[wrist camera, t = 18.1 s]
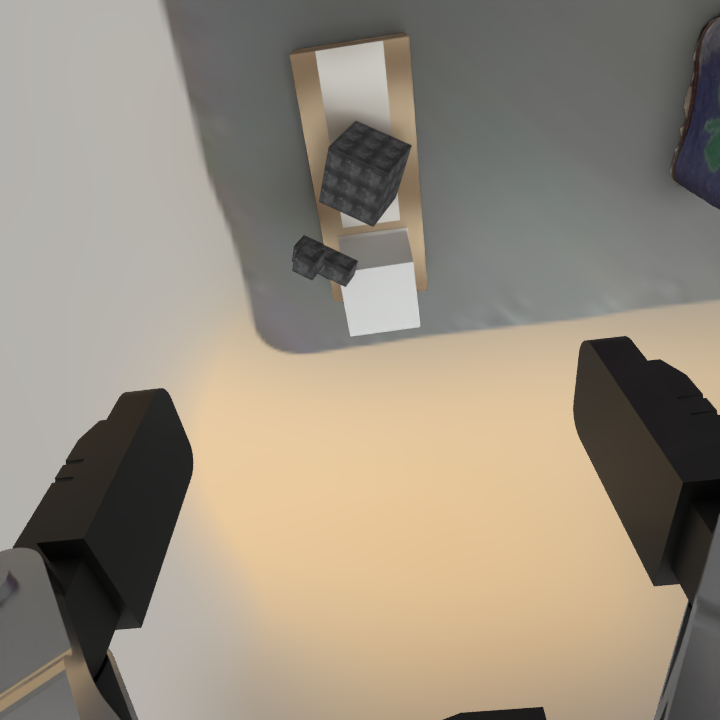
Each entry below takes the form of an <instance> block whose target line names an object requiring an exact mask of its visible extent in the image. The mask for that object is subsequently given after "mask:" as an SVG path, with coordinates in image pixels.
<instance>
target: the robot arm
mask: <svg viewBox="0 0 720 720" xmlns="http://www.w3.org/2000/svg"><path fill="white" fill-rule="evenodd" d="M573 412H574V421H575V426H576V430H577V433H578V435H579V438H580V440H581V442H582V444H583V446H584V448H585V450H586V452H587V454H588V456H589V458H590V460H591V462H592V464H593V466H594V468H595V470H596V472H597V474H598V476H599V478H600V480H601V482H602V484H603V486H604V488H605V490H606V492H607V494H608V496H609V498H610V500H611V502H612V504H613V506H614V508H615V510H616V512H617V514H618V516H619V518H620V519H621V522H622V524H623V526H624V528H625V530H626V532H627V534H628V536H629V538H630V540H631V542H632V544H633V545H634V548H635V549H636V552H637V554H638V556H639V557H640V559H641V561H642V563H643V566H644V568H645V570H646V571H647V573H648V575H649V577H650V579H651V581H652V583H653V585H654V586H662V585H674V584H680V585H681V587H682V589H683V591H684V593H685V594H686V596H687V598H688V603H687V606H686V609H685V612H684V616H683V619H682V622H681V626H680V630H679V633H678V636H677V640H676V644H675V647H674V651H673V654H672V658H671V661H670V665H669V668H668V672H667V676H666V679H665V682H664V686H663V690H662V693H661V696H660V700H659V703H658V707H657V710H656V714H655V717H654V720H720V415H718V414H717V410H716V409H715V408H714V407H713V405H712V404H711V403H710V402H709V401H708V400H707V398H703V394H702V393H701V392H700V390H699V389H698V388H697V387H696V386H695V385H694V383H693V382H692V381H691V380H690V379H689V377H688V376H687V375H686V374H684V373H682V372H681V371H679V370H677V369H676V368H673V367H672V366H670V365H669V364H667V363H665V362H664V361H662V360H660V359H659V360H650V361H647V359H646V358H645V357H644V356H643V354H642V353H641V352H640V350H639V349H638V348H637V347H636V345H635V344H634V343H633V342H632V340H630V338H628V337H626V336H622V337H614V338H604V339H595V340H587V341H584V342H582V344H581V346H580V350H579V358H578V367H577V377H576V387H575V395H574V405H573ZM192 471H193V454H192V449H191V445H190V443H189V440H188V438H187V435H186V433H185V430H184V428H183V426H182V423H181V421H180V418H179V416H178V414H177V411H176V409H175V406H174V404H173V402H172V399H171V397H170V395H169V393H168V392H167V391H166V390H165V389H163V388H161V389H160V388H159V389H150V390H143V391H133V392H125V393H123V394H122V395H121V396H120V397H119V399H118V401H117V402H116V404H115V406H114V408H113V409H112V411H111V413H110V415H109V416H108V418H107V420H101V421H99V422H98V423H97V424H95V425H94V426H93V427H92V428H91V429H90V430H89V431H88V432H87V433H86V434H84V435H83V436H82V437H81V438H80V439H79V440H78V441H77V443H76V445H75V446H74V448H73V450H72V451H71V453H70V455H69V456H68V458H67V459H66V465H63V466H62V468H61V469H60V471H59V473H58V474H57V476H56V477H55V483H52V484H51V486H50V487H49V489H48V491H47V492H46V494H45V495H44V497H43V499H42V501H41V502H40V504H39V505H38V507H37V509H36V511H35V512H34V514H33V515H32V517H31V519H30V520H29V522H28V523H27V525H26V527H25V528H24V530H23V532H22V533H21V535H20V536H19V538H18V540H17V541H16V543H15V545H14V546H13V548H12V549H8V550H4V551H1V552H0V720H138V717H137V715H136V712H135V710H134V707H133V705H132V702H131V699H130V697H129V694H128V692H127V689H126V686H125V684H124V682H123V679H122V676H121V674H120V671H119V669H118V666H117V663H116V661H115V658H114V656H113V654H112V652H111V651H110V649H109V648H108V647H109V645H110V642H111V639H112V636H113V634H114V631H115V630H119V629H131V628H141V627H142V624H143V621H144V618H145V615H146V612H147V609H148V606H149V603H150V600H151V597H152V594H153V591H154V588H155V585H156V582H157V579H158V576H159V573H160V570H161V567H162V564H163V561H164V558H165V555H166V552H167V549H168V546H169V543H170V540H171V537H172V534H173V531H174V528H175V525H176V522H177V519H178V516H179V513H180V510H181V507H182V504H183V501H184V498H185V494H186V492H187V489H188V485H189V483H190V480H191V476H192ZM444 720H546V717H545V713H544V709H543V707H536V708H522V709H508V710H494V711H480V712H467V713H459V714H457V715H454V716H451V717H449V718H446V719H444Z"/></svg>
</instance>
